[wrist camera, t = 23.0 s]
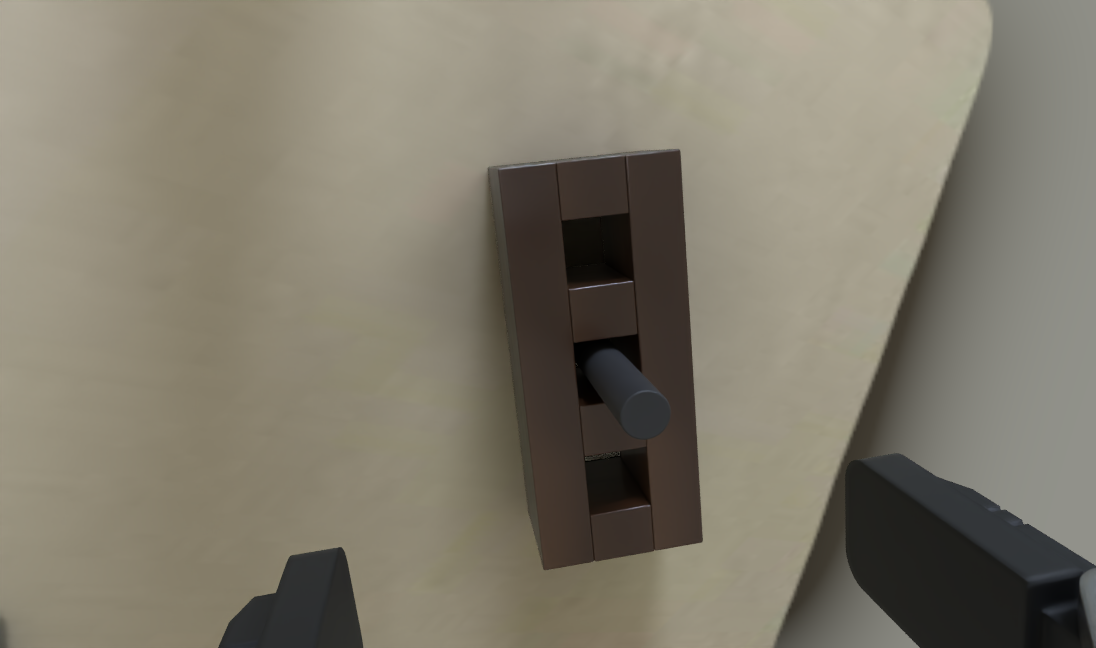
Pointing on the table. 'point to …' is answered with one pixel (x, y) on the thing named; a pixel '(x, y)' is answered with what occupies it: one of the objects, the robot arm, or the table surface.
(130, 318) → the table surface
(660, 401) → the stylus
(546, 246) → the pen stand
